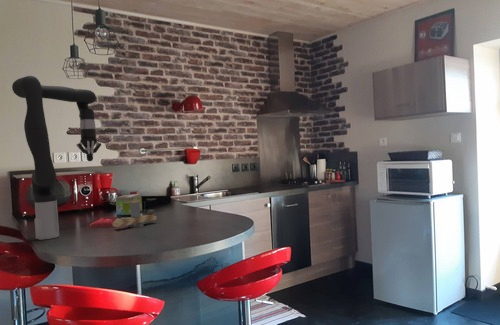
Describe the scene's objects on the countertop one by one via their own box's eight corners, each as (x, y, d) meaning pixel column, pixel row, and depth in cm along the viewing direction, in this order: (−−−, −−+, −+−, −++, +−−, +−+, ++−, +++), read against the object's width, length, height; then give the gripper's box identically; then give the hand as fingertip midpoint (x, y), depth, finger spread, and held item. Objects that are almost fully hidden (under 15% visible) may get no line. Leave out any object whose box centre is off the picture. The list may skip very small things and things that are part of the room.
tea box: (135, 223, 210) (133, 196, 210) (116, 224, 211) (114, 197, 210) (143, 218, 226) (141, 193, 225) (125, 219, 226) (124, 194, 225)
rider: (135, 219, 198) (134, 201, 198) (131, 218, 201) (129, 201, 201) (140, 218, 201) (139, 201, 200) (136, 217, 203) (135, 200, 203)
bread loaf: (118, 231, 190) (117, 216, 190) (112, 229, 195) (111, 215, 195) (157, 223, 206) (156, 210, 206) (150, 222, 211) (149, 209, 211)
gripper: (78, 127, 200) (80, 161, 200) (103, 128, 209) (105, 160, 210) (72, 129, 205) (74, 162, 206) (96, 129, 215) (99, 160, 215)
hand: (90, 161), depth 208 cm, fingers closed
